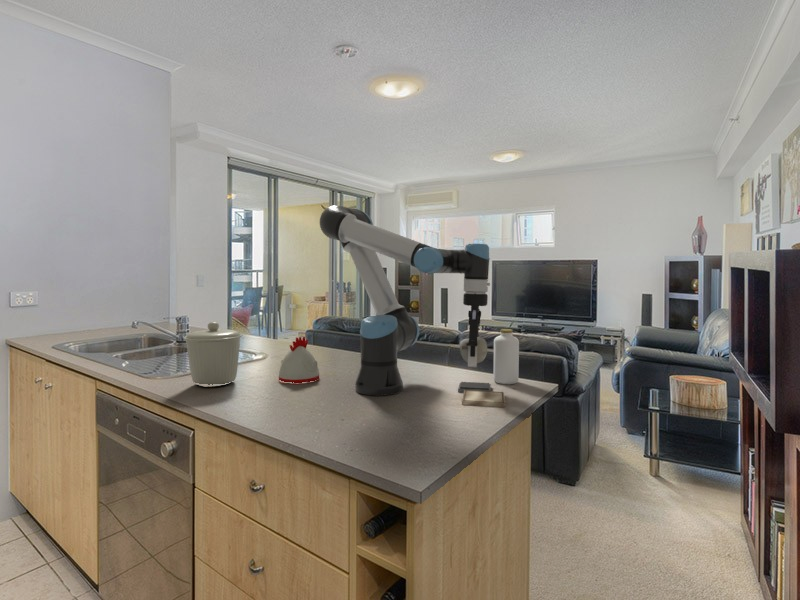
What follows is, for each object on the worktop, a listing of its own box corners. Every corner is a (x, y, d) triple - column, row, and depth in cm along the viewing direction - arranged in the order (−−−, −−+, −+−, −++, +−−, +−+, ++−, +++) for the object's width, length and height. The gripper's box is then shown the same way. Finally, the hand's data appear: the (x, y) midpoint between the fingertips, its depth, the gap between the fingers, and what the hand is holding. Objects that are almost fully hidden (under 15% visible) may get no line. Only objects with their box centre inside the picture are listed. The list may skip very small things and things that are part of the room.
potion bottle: (519, 385, 148) (519, 331, 147) (493, 384, 150) (494, 331, 149) (517, 379, 156) (518, 328, 155) (493, 378, 158) (493, 328, 157)
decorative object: (484, 367, 137) (485, 335, 137) (456, 364, 140) (457, 333, 140) (488, 362, 146) (490, 331, 145) (462, 359, 149) (463, 329, 148)
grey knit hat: (327, 378, 160) (326, 336, 159) (299, 386, 148) (298, 341, 147) (299, 373, 167) (298, 333, 166) (270, 381, 156) (269, 338, 155)
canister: (249, 386, 148) (248, 322, 147) (190, 394, 138) (188, 326, 137) (235, 375, 163) (234, 318, 162) (181, 382, 153) (179, 321, 152)
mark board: (461, 404, 127) (461, 400, 127) (464, 393, 139) (464, 389, 139) (505, 406, 125) (505, 403, 125) (504, 395, 137) (504, 391, 137)
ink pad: (458, 392, 140) (458, 387, 140) (459, 385, 148) (459, 381, 148) (490, 393, 138) (490, 389, 138) (490, 387, 146) (490, 382, 146)
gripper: (487, 295, 130) (484, 371, 132) (488, 291, 151) (485, 357, 153) (461, 294, 132) (458, 370, 133) (465, 290, 153) (463, 356, 154)
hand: (472, 363), depth 143 cm, fingers closed on decorative object, 9 cm apart
